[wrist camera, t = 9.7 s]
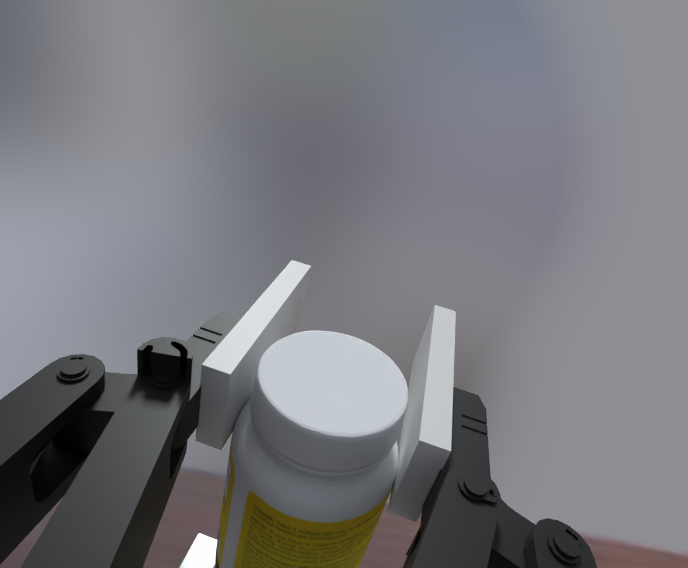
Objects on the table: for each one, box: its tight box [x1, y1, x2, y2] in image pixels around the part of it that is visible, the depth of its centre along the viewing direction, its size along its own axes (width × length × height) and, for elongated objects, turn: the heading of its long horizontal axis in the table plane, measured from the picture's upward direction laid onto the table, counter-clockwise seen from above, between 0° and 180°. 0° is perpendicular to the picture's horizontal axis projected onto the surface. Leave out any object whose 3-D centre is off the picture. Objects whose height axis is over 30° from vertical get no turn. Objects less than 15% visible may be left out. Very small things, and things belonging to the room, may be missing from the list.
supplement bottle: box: [215, 331, 409, 568], centre depth 13 cm, size 5×5×8 cm
